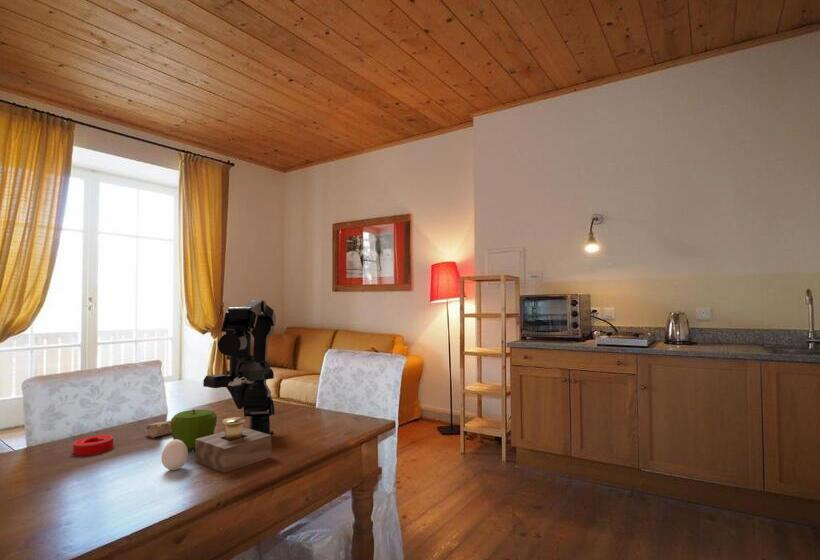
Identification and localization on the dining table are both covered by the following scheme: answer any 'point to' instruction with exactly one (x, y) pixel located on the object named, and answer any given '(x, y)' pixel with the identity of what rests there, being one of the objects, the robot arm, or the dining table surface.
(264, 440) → the socket block
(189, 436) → the apple
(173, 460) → the egg
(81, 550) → the dining table surface
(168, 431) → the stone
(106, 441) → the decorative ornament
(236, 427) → the peg
